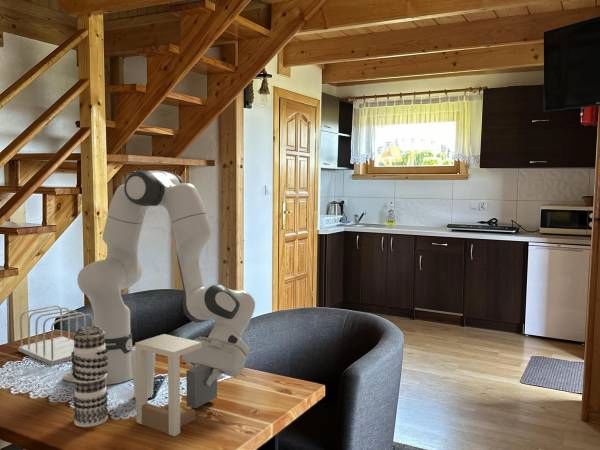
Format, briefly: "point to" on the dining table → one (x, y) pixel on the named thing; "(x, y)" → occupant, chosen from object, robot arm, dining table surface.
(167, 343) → the shelf
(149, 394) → the drinking glass
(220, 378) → the mobile phone
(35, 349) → the file sorter
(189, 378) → the slate tile
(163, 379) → the dining table surface
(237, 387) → the dining table surface
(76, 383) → the decorative candle
